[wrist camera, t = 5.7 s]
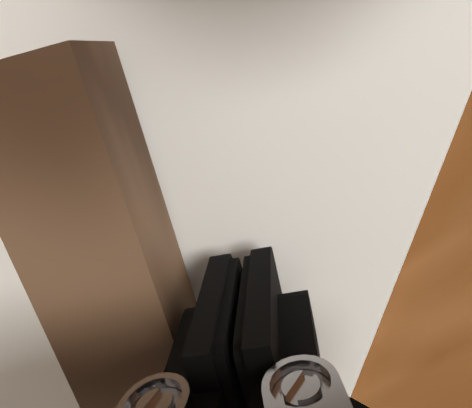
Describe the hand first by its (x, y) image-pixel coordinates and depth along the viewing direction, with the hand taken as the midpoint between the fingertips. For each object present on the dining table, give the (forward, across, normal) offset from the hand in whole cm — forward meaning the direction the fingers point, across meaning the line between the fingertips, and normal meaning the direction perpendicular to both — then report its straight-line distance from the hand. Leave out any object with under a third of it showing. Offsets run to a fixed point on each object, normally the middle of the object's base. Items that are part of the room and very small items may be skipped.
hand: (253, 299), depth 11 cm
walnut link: (+1, +3, +2) cm, 4 cm away
